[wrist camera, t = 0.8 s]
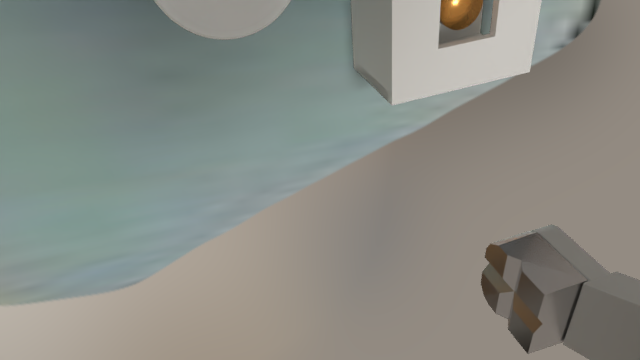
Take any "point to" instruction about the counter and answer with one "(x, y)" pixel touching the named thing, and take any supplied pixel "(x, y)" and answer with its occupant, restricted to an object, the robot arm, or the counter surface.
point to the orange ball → (459, 13)
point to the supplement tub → (223, 16)
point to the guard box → (438, 46)
